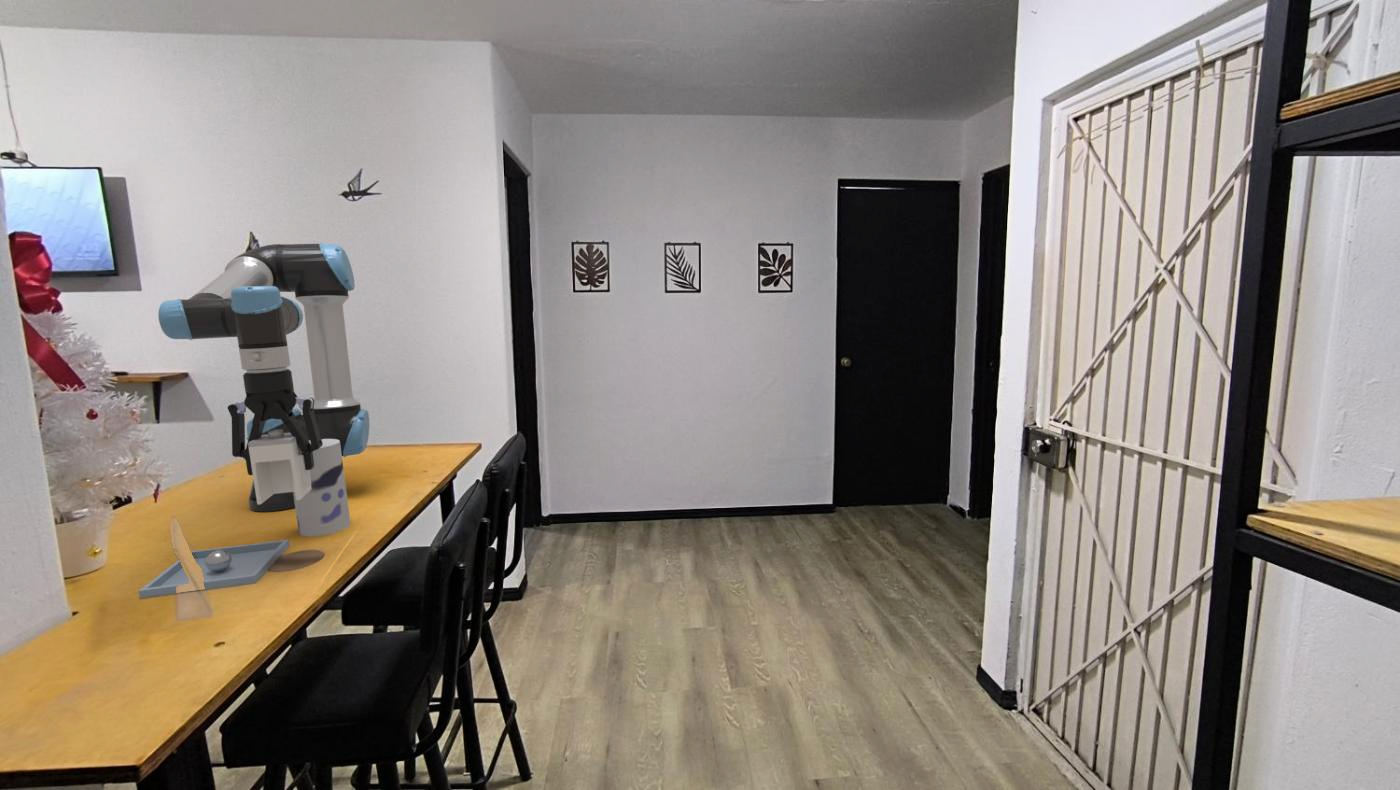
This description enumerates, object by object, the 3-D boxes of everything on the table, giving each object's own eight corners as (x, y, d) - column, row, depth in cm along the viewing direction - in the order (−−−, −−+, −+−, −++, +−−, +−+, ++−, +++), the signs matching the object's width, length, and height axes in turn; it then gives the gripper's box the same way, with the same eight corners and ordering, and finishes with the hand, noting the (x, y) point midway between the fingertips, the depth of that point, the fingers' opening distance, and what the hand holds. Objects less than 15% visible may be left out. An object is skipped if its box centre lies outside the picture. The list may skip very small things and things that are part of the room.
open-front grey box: (271, 493, 124) (261, 428, 122) (311, 489, 126) (302, 425, 124) (257, 504, 117) (246, 436, 115) (299, 500, 119) (290, 433, 117)
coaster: (276, 556, 127) (275, 554, 127) (331, 549, 130) (330, 547, 130) (256, 578, 118) (255, 575, 118) (316, 570, 121) (315, 567, 120)
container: (327, 540, 135) (315, 449, 132) (288, 537, 137) (274, 448, 134) (360, 523, 145) (350, 438, 142) (323, 521, 147) (312, 437, 144)
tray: (191, 560, 127) (189, 551, 127) (290, 548, 131) (288, 539, 131) (140, 601, 110) (138, 590, 110) (256, 586, 115) (254, 575, 114)
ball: (212, 568, 122) (209, 548, 121) (236, 565, 123) (233, 545, 122) (203, 577, 118) (199, 556, 117) (227, 573, 119) (224, 553, 118)
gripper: (194, 376, 111) (215, 500, 115) (320, 368, 117) (336, 488, 120) (214, 371, 119) (233, 488, 122) (332, 364, 124) (346, 477, 128)
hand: (284, 488), depth 121 cm, fingers closed on open-front grey box, 7 cm apart
